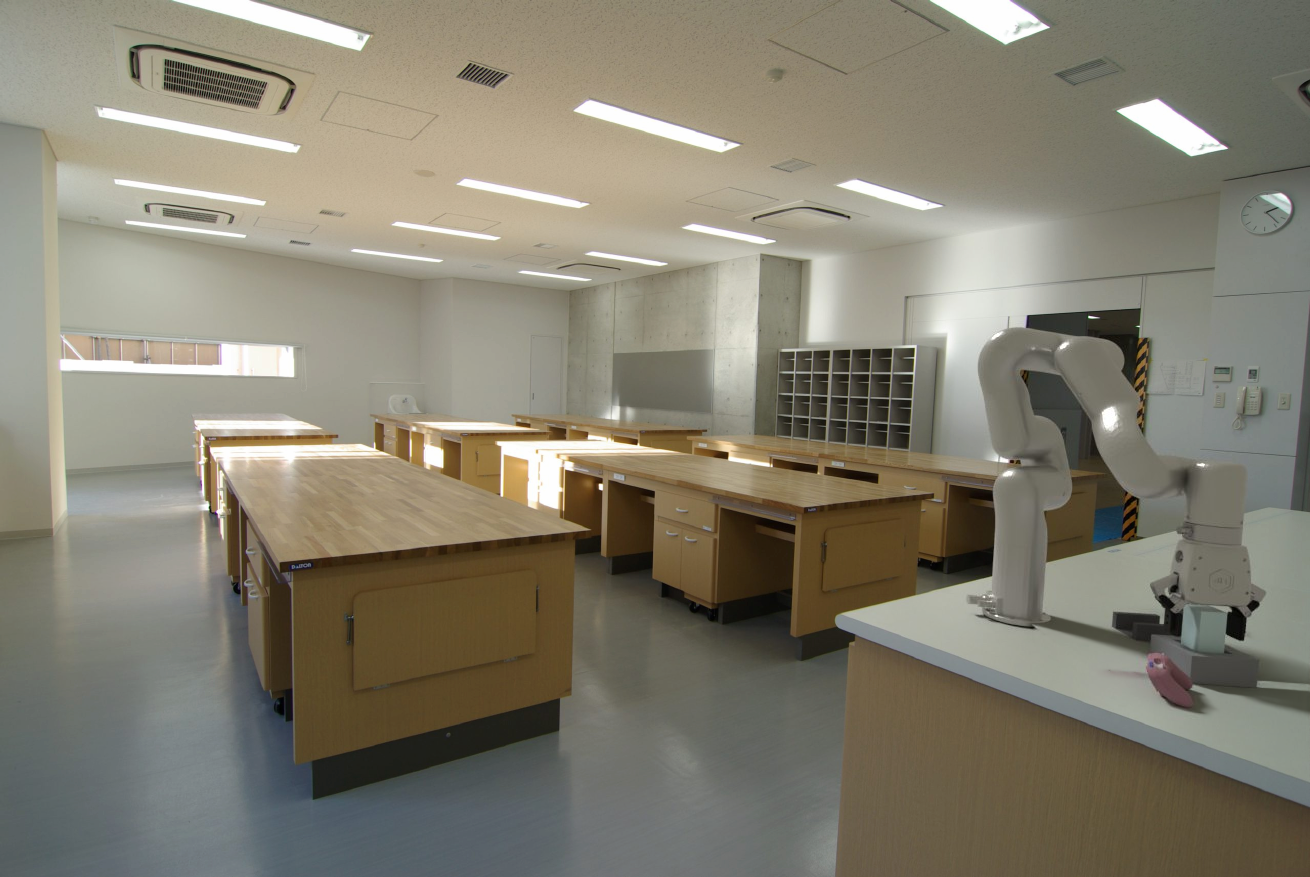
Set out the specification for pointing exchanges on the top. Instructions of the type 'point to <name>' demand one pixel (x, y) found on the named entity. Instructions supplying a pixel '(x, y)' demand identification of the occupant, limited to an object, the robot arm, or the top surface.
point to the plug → (1204, 628)
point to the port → (1208, 663)
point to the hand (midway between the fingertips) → (1203, 636)
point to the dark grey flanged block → (1138, 625)
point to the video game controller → (1169, 679)
